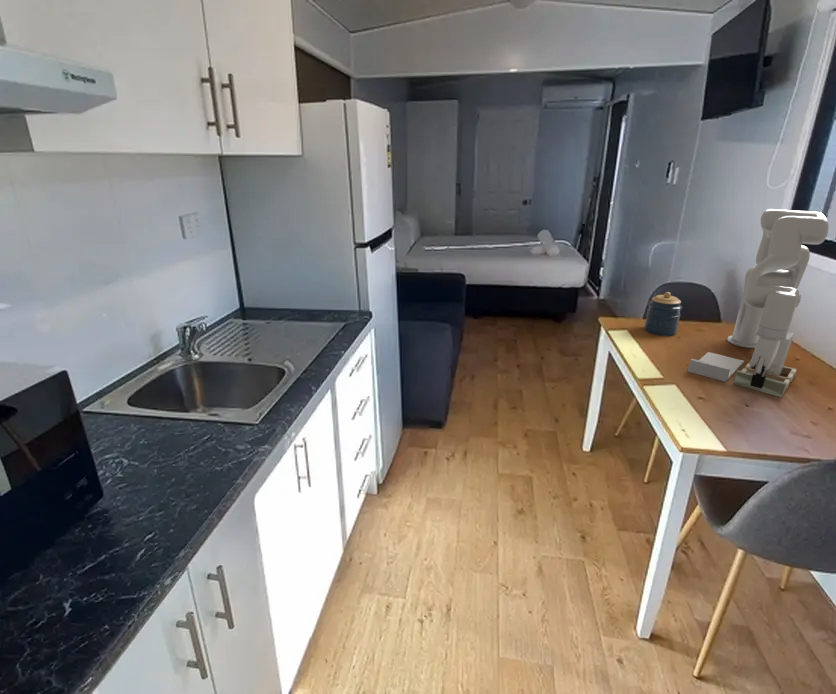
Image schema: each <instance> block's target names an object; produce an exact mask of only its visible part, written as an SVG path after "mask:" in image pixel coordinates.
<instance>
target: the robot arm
mask: <svg viewBox="0 0 836 694" xmlns="http://www.w3.org/2000/svg"><path fill="white" fill-rule="evenodd" d="M760 227H761V230H762V236H761V241H760V243H759V247H758V250H757V254H756V256H755V257H756V258H755V264H756V265H755V266H752V267H750V268H748V269H747V271H746V273H745V275H744V283H743V284H744V287H743V293H742V297H741V302H740V306H739V310H738V314H737V318H736V321H735V324H734V325H735V326H734V327H733V328H734V330H733V332H732V335H729V336H727V338H726V341H727V342H728V343H730V344H732V345H734V346H736V347H742V348H748V349H754V350H753V353H752V357H751V359H750V361H751V362H750V361H749V362H750V367H752V366H754V365H755V364H756V367H754V370H755V371H754V374H753V377H752V380H751V384H750V385H751V386H753V387H757V388H762V387H763V385H764V381H765V378H766V376H765V375H766V373H767V370H768V369H769V368H770V366H771V365H772V363H773V361H774V359H775V356H776V354H777V351H778V347H779V344H780V341H783V340H786V337H787V333H788V332H789V330H790V326H791V323H792V319H793V316H794V314H795V313H794V312H795V310H796V308H798V306H799V305H800V303H801V298H802V295H801V294H800V291H799V290H798V288H799V286H800V283H801V282H802V278H803V276H804V274H805V271H806V269H807V266H808V264H809V261H810V256H811V252H810V249H809V248H808V247H807V246H805V245H817V246H818V245H821V244H822V243H824V242H825V240H826V238H827V236H828V233H829V220H828V219H827V217H826V216H825V215H824V213H822V212H819V211H810V210H809V211H808V210H791V209H789V210H788V209H775V208H769V209H766V210H764V212H763V213H762V214H761V217H760ZM804 244H805V245H804Z"/></svg>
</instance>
